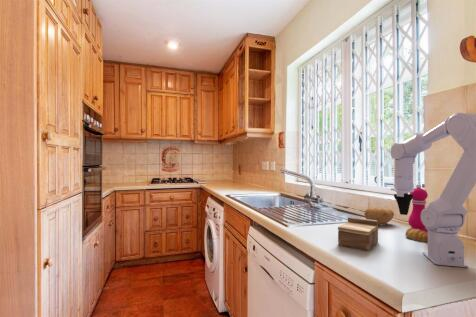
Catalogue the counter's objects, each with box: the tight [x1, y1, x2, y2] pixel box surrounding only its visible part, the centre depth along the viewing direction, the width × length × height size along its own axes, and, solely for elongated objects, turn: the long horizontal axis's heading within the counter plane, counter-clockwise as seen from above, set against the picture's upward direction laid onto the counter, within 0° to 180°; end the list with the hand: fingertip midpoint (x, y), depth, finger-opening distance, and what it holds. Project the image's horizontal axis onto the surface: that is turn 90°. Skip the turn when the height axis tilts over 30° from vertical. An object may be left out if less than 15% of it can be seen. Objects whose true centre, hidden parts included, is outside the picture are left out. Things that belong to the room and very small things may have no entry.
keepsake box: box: [337, 228, 379, 253], centre depth 94 cm, size 12×10×5 cm
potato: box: [363, 206, 395, 226], centre depth 122 cm, size 10×14×8 cm
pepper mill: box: [408, 183, 429, 233], centre depth 107 cm, size 7×7×20 cm
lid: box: [337, 216, 379, 236], centre depth 94 cm, size 12×10×3 cm
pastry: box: [404, 227, 428, 244], centre depth 99 cm, size 9×7×4 cm
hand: (403, 214), depth 95 cm, fingers closed
